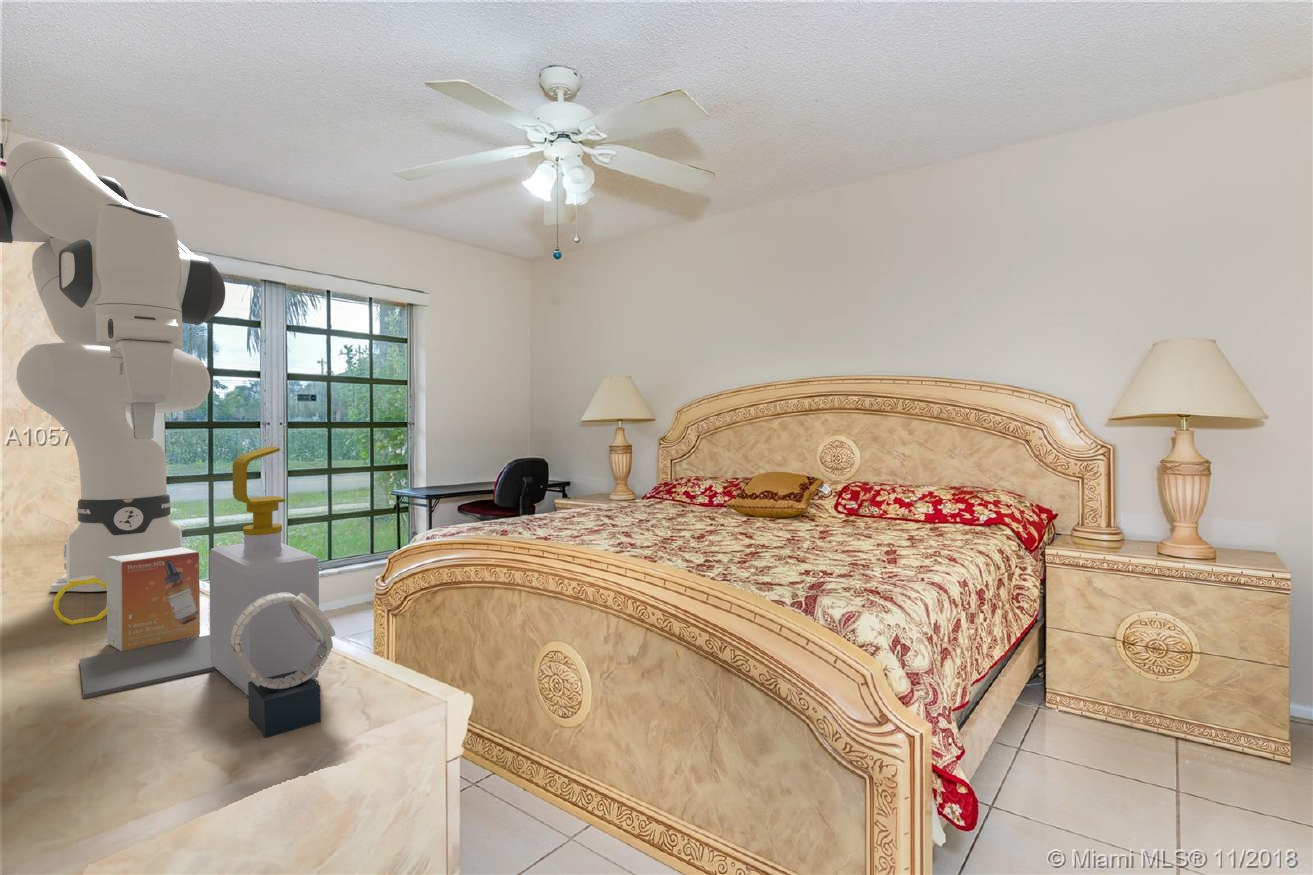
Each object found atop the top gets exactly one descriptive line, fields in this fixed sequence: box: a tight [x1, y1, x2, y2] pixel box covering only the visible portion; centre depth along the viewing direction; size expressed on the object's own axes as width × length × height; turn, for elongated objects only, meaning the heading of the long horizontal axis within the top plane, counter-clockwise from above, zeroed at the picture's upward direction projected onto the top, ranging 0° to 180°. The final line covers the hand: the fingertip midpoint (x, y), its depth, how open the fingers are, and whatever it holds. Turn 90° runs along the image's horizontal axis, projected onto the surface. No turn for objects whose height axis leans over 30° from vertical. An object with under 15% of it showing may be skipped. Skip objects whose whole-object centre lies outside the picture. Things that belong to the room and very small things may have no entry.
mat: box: [78, 634, 218, 699], centre depth 73 cm, size 13×14×1 cm
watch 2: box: [229, 592, 336, 739], centre depth 58 cm, size 6×8×11 cm
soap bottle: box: [208, 445, 320, 696], centre depth 68 cm, size 12×7×23 cm, turn 49°
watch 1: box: [52, 575, 107, 626], centre depth 88 cm, size 6×3×6 cm, turn 138°
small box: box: [106, 547, 201, 652], centre depth 80 cm, size 8×6×10 cm
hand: (143, 439), depth 86 cm, fingers closed
